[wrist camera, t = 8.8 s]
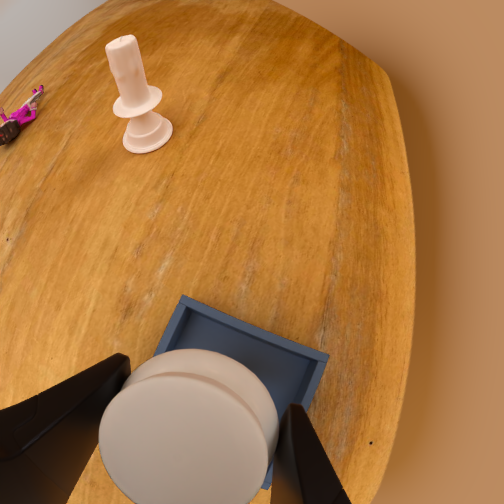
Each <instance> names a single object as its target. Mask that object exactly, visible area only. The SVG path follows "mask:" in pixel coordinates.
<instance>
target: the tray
mask: <svg viewBox="0 0 504 504" xmlns="http://www.w3.org/2000/svg"><path fill="white" fill-rule="evenodd" d="M179 349H201V350H208V351H213V352H218V353H220V354H222V355H225V356H227V357H230V358H232V359H234V360H236V361H237V362H239V363H241V364H243V365H244V366H245V367H247V368H248V369H249V370H250V371H252V372H253V373H254V374H255V375H256V376H257V377H258V379H259V380H260V381H261V382H262V383H263V384H264V386H265V387H266V388H267V390H268V392H269V394H270V396H271V398H272V400H273V402H274V405H275V408H276V410H277V415H278V420H279V427H280V422H281V418H282V415H283V414H284V412H285V410H286V408H287V406H288V405H289V404H290V403H296V404H301V405H302V406H303V407H304V409H305V411H306V413H307V410H308V408H309V406H310V403H311V401H312V399H313V396H314V394H315V392H316V389H317V387H318V384H319V382H320V379H321V377H322V374H323V372H324V369H325V366H326V363H327V361H328V358H329V354H326V353H323V352H320V351H317V350H315V349H312V348H309V347H307V346H304V345H301V344H299V343H296V342H293V341H291V340H288V339H286V338H283V337H281V336H278V335H276V334H273V333H271V332H268V331H266V330H263V329H261V328H258V327H256V326H253V325H251V324H249V323H246V322H244V321H241V320H239V319H237V318H234V317H232V316H230V315H227V314H225V313H223V312H221V311H218V310H216V309H214V308H212V307H209V306H207V305H205V304H203V303H201V302H198V301H196V300H194V299H192V298H190V297H187V296H185V295H183V294H182V296H181V298H180V300H179V303H178V304H177V306H176V308H175V310H174V313H173V315H172V317H171V319H170V321H169V323H168V325H167V327H166V330H165V332H164V334H163V336H162V338H161V340H160V342H159V345H158V347H157V349H156V351H155V353H154V356H153V357H155V356H157V355H160V354H162V353H165V352H169V351H173V350H179ZM273 460H274V456H273V458H272V461H271V462H270V464H269V466H268V467H267V472H266V476H265V479H264V482H263V484H262V486H261V488H262V489H266V490H268V489H269V487H270V485H271V483H272V473H273Z"/></svg>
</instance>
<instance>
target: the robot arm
mask: <svg viewBox="0 0 504 504" xmlns="http://www.w3.org/2000/svg"><path fill="white" fill-rule="evenodd" d="M130 375H131V367H130V359H129V357H128V356H126V355H124V354H121V353H116V354H114V355H112V356H110V357H108V358H107V359H105V360H103V361H101V362H99V363H97V364H95V365H93V366H92V367H90V368H88V369H86V370H84V371H82V372H80V373H78V374H76V375H74V376H72V377H70V378H69V379H67V380H65V381H63V382H61V383H59V384H57V385H55V386H53V387H51V388H49V389H47V390H45V391H43V392H41V393H39V394H38V395H35V396H33V397H31V398H29V399H27V400H25V401H22V402H20V403H18V404H16V405H13V406H10V407H8V408H5V409H2V410H0V504H66V503H67V501H68V499H69V496H70V495H71V493H72V491H73V489H74V487H75V485H76V483H77V481H78V480H79V478H80V476H81V474H82V472H83V470H84V468H85V466H86V465H87V463H88V461H89V459H90V457H91V455H92V453H93V452H94V450H95V448H96V446H97V444H98V443H99V427H100V423H101V419H102V416H103V414H104V411H105V410H106V408H107V406H108V405H109V403H110V402H111V401H112V399H113V398H114V397H115V396H116V395H117V394H118V393H120V391H121V388H122V386H123V385H124V383H125V381H126V380H127V379H128V377H129V376H130ZM342 488H343V486H342V484H341V482H340V480H339V478H338V476H337V475H336V473H335V471H334V469H333V467H332V465H331V463H330V461H329V458H328V456H327V454H326V452H325V450H324V448H323V446H322V444H321V442H320V440H319V438H318V436H317V434H316V432H315V430H314V428H313V426H312V424H311V422H310V420H309V418H308V416H307V414H306V411H305V409H304V407H303V406H302V405H301V404H296V403H290V404H289V405H288V406H287V408H286V410H285V412H284V414H283V415H282V418H281V422H280V427H279V439H278V444H277V448H276V451H275V454H274V460H273V473H272V488H271V502H270V504H352V503H351V502H350V500H349V498H348V496H347V494H346V492H345V490H344V489H342Z"/></svg>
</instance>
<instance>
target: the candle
mask: <svg viewBox="0 0 504 504" xmlns="http://www.w3.org/2000/svg"><path fill="white" fill-rule="evenodd" d="M105 50H106V54H107V57H108V60H109V65H110V70H111V72H112V73H113V75H114V78H115V81H116V84H117V87H118V90H119V93H120V97H119V98H118V99H117V100H116V101H115V103H114V105H113V112H114V113H115V115H117V116H119V117H122V118H131V119H130V122H129V123H128V125H127V128H126V132H125V134H124V136H123V145H124V147H125V148H126V149H127V150H128V151H130V152H133V153H147V152H151V151H154V150H156V149H158V148H160V147H161V146H163V145H164V144H165V143H166V142H167V141H168V140H169V138H170V137H171V135H172V132H173V127H172V124H171V122H170V121H169V120H168V119H166V118H164V117H162V116H161V115H160V114H158V113H156V112H153V111H152V109H153V108H155V107H156V106H157V105H158V103H159V102H160V100H161V98H162V92H161V90H160V89H158V88H157V87H154V86H148V85H147V81H146V77H145V73H144V68H143V64H142V60H141V56H140V51H139V47H138V43H137V40H136V38H135V37H134V36H133V35H127V36H121V37H120V38H117V39H115V40H113V41H112V42H110V43H109V44H107V45H106V48H105Z"/></svg>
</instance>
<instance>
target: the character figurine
mask: <svg viewBox="0 0 504 504" xmlns="http://www.w3.org/2000/svg"><path fill="white" fill-rule="evenodd" d="M32 92H33V96H32V97H31V98H29V99H28V100H27V101H26V102H25V103H24V104H23V105H22V107H21V108H20V109H18V110H17V111H16V112H14V113H12V114H11V115H10V116H9V119H7V117H6V116H5V114H4V112H3V111H4V110H3V108H2V107H1V108H0V116H1V117H2V119H3V120H4V123H3V124H2V125H1V126H0V146H2V145H4V144H7V143H8V142H10V141H11V140H12V139H14V138H15V137H16V136H17V134H18V133H19V131H20V130H19V129H18V128H19V127H20V126H21V125H22V124H24V123H26V122H28V121H31V120H33V119H35V114H36V110H37V108H36V107H37V105H38V104H37V103H36V102H35V101H36V100H37V99H39V97H40V96H41V95H42V94H43V93H44V92H43V85H40V86H39V91H38V92H37V90H36V89H34V90H33V91H32ZM29 111H31V116H30V117H29V116H27V117H26V116H25V115H26V114H27V113H28V112H29Z"/></svg>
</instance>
